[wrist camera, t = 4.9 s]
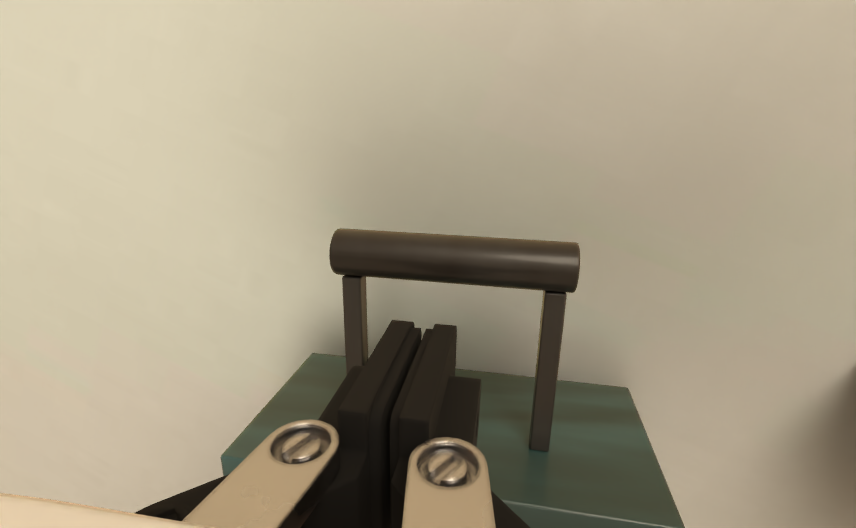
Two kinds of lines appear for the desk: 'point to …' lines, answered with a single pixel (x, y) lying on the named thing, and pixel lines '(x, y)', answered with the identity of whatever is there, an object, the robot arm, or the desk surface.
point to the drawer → (499, 386)
